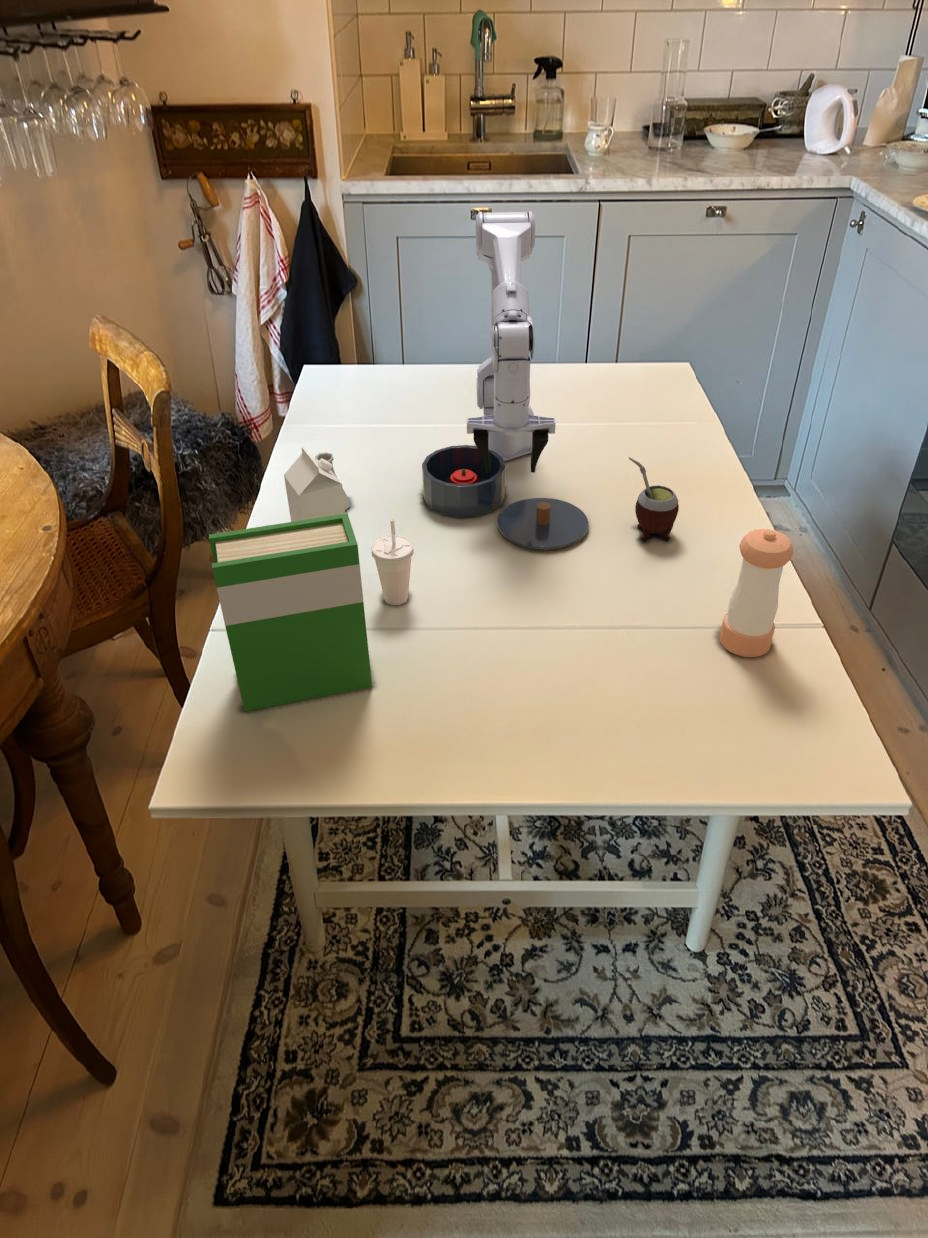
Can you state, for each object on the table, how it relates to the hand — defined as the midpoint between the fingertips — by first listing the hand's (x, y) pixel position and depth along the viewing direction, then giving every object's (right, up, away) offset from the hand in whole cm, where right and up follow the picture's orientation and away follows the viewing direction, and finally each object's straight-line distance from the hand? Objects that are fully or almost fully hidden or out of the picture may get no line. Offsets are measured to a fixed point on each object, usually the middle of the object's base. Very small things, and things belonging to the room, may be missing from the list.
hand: (510, 469), depth 160 cm
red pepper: (-8, -3, +10) cm, 13 cm away
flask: (-32, -5, +8) cm, 33 cm away
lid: (+6, -9, +2) cm, 11 cm away
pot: (-8, -3, +10) cm, 13 cm away
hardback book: (-30, -34, -28) cm, 53 cm away
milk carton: (-31, -16, -4) cm, 35 cm away
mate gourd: (+24, -11, 0) cm, 26 cm away
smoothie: (-18, -22, -13) cm, 32 cm away
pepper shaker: (+33, -29, -22) cm, 49 cm away
